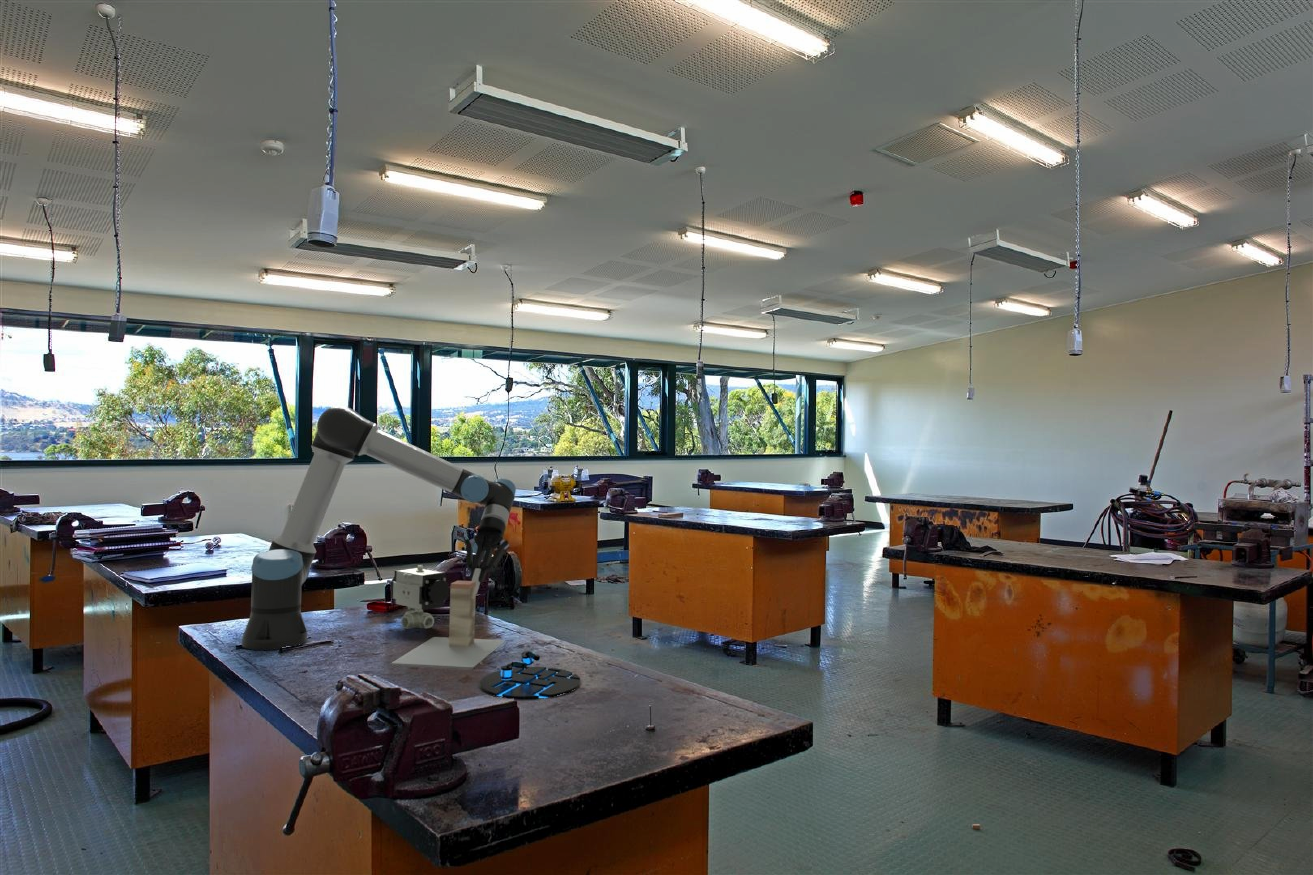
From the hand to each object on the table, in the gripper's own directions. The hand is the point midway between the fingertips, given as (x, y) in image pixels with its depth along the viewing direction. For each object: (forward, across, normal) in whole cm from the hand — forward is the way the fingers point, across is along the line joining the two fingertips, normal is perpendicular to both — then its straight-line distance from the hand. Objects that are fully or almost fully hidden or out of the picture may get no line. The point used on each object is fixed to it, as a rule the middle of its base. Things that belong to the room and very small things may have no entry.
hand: (473, 590), depth 206 cm
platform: (+35, -25, +15) cm, 45 cm away
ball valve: (+2, +20, -17) cm, 26 cm away
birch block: (+14, 0, -4) cm, 14 cm away
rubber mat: (+19, 0, +1) cm, 19 cm away
